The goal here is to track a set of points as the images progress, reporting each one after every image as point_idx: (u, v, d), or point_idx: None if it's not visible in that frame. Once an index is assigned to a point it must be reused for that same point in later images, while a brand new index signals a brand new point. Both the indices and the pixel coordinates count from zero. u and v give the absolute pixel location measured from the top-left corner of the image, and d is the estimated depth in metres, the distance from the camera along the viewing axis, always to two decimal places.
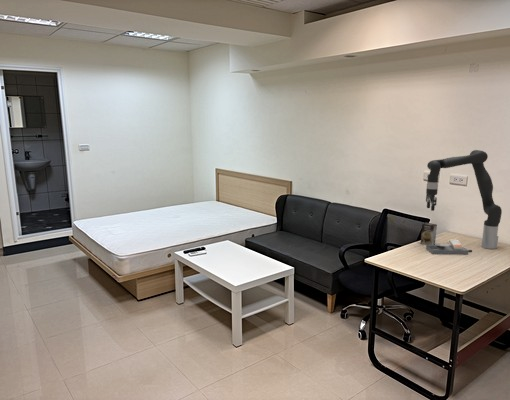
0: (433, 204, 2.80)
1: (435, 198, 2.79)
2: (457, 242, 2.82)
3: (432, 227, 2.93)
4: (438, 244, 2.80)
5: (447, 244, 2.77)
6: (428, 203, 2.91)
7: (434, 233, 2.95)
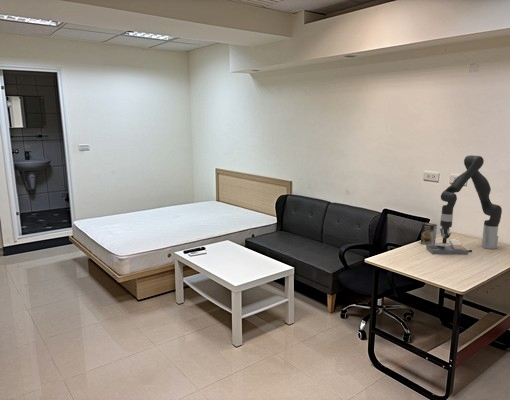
0: (445, 237, 2.73)
1: (449, 234, 2.70)
2: (457, 242, 2.82)
3: (432, 227, 2.93)
4: (438, 244, 2.80)
5: (447, 244, 2.77)
6: None
7: (434, 233, 2.95)
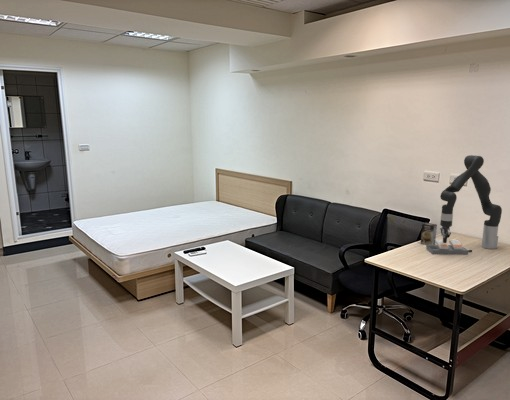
0: (445, 237, 2.73)
1: (449, 233, 2.70)
2: (457, 242, 2.82)
3: (432, 227, 2.93)
4: (438, 245, 2.81)
5: (447, 247, 2.77)
6: None
7: (434, 233, 2.95)
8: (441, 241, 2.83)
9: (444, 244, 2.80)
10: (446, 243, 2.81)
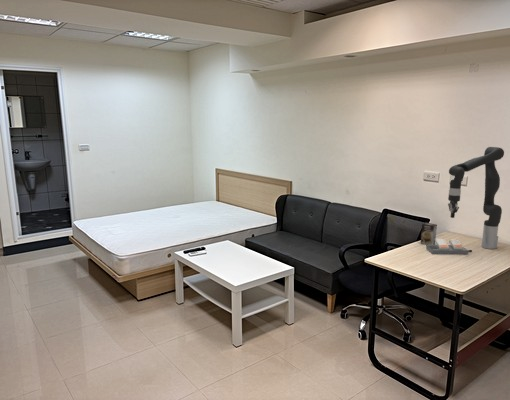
0: (453, 211, 2.76)
1: (457, 208, 2.73)
2: (457, 242, 2.82)
3: (432, 227, 2.93)
4: (438, 245, 2.81)
5: (447, 248, 2.77)
6: None
7: (434, 233, 2.95)
8: (441, 241, 2.83)
9: (444, 244, 2.80)
10: (446, 243, 2.81)
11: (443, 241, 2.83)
